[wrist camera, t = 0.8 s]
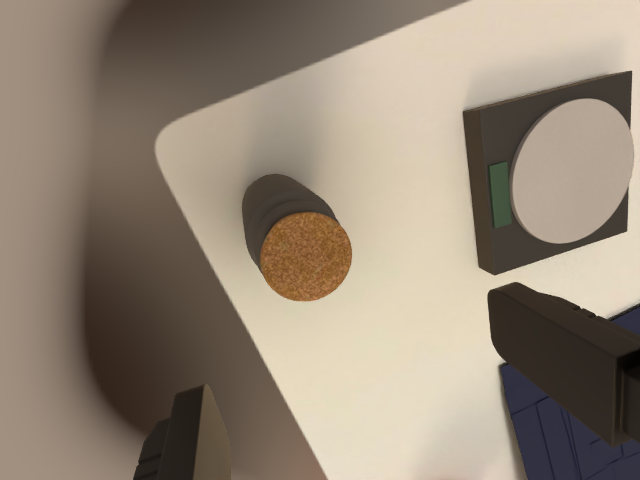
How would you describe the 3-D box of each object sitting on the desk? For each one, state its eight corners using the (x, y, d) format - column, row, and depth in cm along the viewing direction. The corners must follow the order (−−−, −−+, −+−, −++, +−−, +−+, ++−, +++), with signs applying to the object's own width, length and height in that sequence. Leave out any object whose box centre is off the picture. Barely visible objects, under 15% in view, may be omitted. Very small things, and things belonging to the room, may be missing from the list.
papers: (532, 544, 51) (553, 570, 48) (483, 357, 45) (503, 372, 42) (674, 470, 54) (704, 490, 51) (646, 286, 48) (677, 294, 45)
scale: (462, 111, 34) (484, 108, 31) (606, 74, 37) (639, 69, 34) (478, 267, 39) (498, 277, 36) (605, 226, 41) (633, 232, 38)
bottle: (281, 159, 32) (319, 176, 18) (320, 212, 34) (383, 264, 20) (227, 201, 32) (222, 252, 17) (270, 251, 34) (296, 333, 19)
